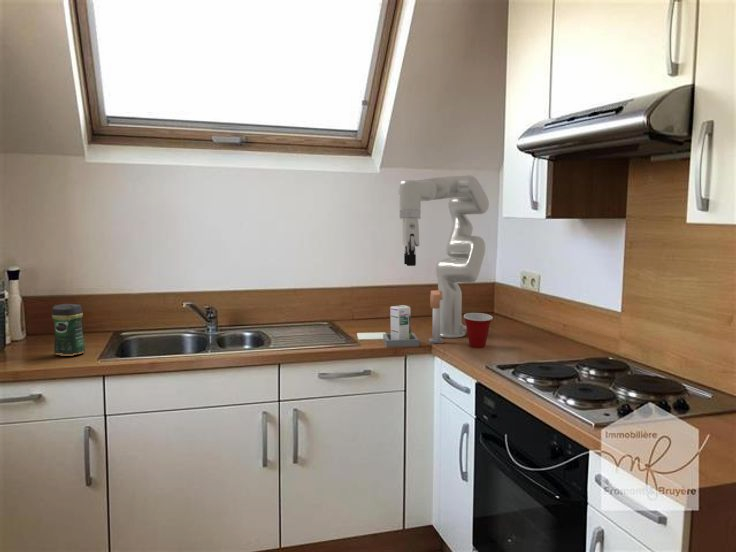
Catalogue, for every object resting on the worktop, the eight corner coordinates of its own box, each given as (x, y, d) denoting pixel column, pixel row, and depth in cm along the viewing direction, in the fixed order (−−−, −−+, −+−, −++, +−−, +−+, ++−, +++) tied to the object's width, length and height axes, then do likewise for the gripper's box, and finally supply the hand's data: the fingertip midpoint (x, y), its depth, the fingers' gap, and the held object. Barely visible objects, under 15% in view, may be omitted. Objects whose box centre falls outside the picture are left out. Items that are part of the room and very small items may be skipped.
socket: (439, 338, 234) (439, 298, 232) (445, 345, 222) (446, 302, 220) (383, 340, 233) (383, 299, 231) (386, 347, 220) (386, 304, 219)
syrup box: (398, 345, 223) (398, 307, 221) (390, 342, 228) (390, 305, 226) (411, 343, 226) (411, 306, 224) (402, 340, 231) (402, 304, 229)
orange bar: (431, 298, 229) (431, 286, 228) (442, 298, 228) (442, 286, 227) (428, 308, 204) (428, 295, 204) (441, 308, 204) (441, 295, 203)
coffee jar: (89, 352, 214) (86, 302, 212) (74, 358, 207) (71, 306, 205) (65, 351, 216) (62, 302, 214) (50, 357, 208) (47, 305, 206)
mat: (385, 333, 245) (385, 332, 245) (388, 339, 234) (388, 338, 234) (356, 333, 245) (356, 333, 245) (358, 340, 233) (358, 339, 233)
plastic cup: (470, 350, 213) (471, 318, 212) (458, 344, 224) (458, 313, 222) (497, 348, 216) (498, 316, 215) (484, 342, 227) (484, 312, 225)
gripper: (424, 215, 203) (424, 267, 205) (416, 214, 220) (416, 262, 222) (402, 215, 202) (402, 267, 204) (396, 215, 219) (396, 263, 221)
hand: (409, 264), depth 213 cm, fingers open, 5 cm apart
